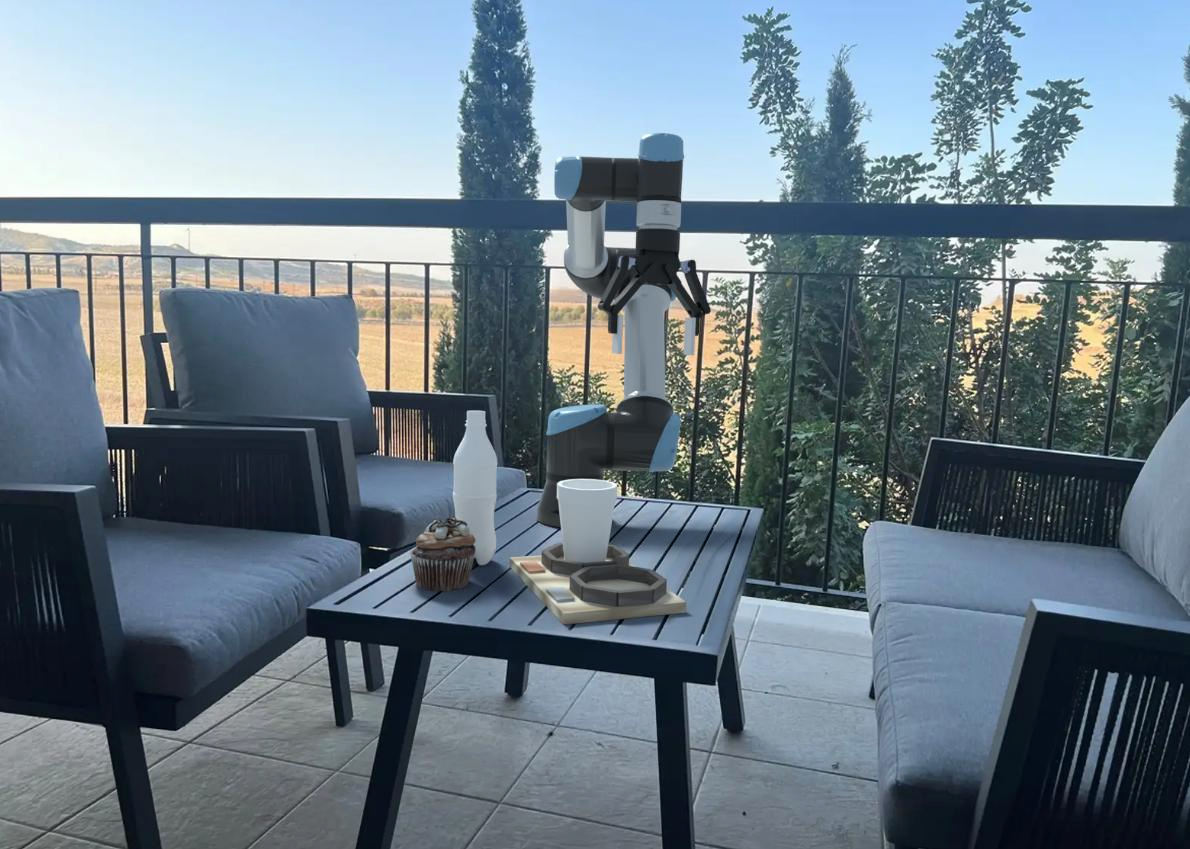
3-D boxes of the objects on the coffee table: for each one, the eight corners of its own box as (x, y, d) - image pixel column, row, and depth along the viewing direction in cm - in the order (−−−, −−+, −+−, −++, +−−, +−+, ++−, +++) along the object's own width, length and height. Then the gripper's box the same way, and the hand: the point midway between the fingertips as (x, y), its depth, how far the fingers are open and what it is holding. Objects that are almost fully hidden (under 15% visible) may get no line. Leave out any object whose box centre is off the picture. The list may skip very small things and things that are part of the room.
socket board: (509, 566, 139) (510, 545, 138) (612, 559, 145) (613, 539, 145) (563, 624, 113) (564, 598, 112) (685, 612, 119) (686, 588, 119)
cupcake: (449, 570, 136) (450, 508, 135) (487, 584, 129) (488, 519, 128) (397, 581, 129) (397, 516, 128) (434, 597, 122) (435, 529, 121)
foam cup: (581, 553, 142) (583, 476, 141) (626, 564, 137) (628, 484, 135) (543, 564, 135) (545, 484, 133) (588, 576, 129) (590, 492, 128)
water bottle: (488, 569, 137) (491, 414, 134) (446, 566, 138) (447, 412, 135) (500, 557, 144) (503, 410, 141) (460, 554, 145) (461, 408, 142)
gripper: (597, 221, 137) (593, 353, 140) (733, 232, 146) (727, 356, 148) (581, 226, 144) (578, 352, 147) (712, 235, 153) (707, 354, 155)
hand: (653, 354), depth 148 cm, fingers open, 13 cm apart
